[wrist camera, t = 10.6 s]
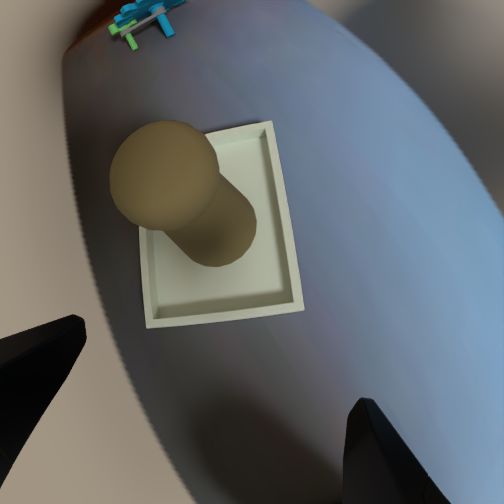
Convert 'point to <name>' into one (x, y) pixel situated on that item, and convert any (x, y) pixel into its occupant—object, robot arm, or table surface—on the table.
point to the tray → (243, 269)
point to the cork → (182, 192)
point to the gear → (150, 9)
